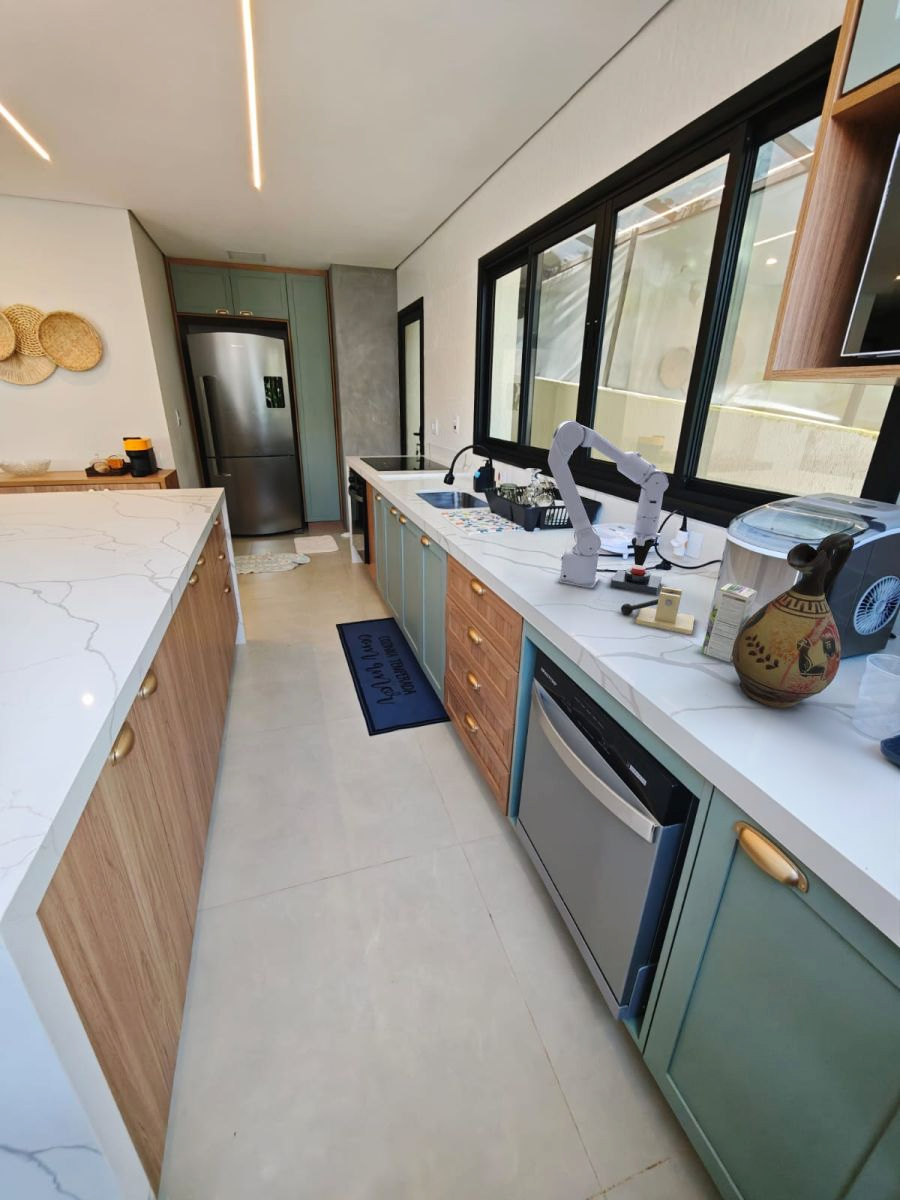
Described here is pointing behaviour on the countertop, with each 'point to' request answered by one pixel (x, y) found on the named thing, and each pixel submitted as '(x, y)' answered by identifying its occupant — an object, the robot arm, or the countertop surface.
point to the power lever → (639, 605)
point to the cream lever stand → (667, 613)
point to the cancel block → (636, 582)
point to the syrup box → (728, 620)
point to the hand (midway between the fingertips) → (639, 564)
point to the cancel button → (638, 570)
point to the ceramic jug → (794, 631)
